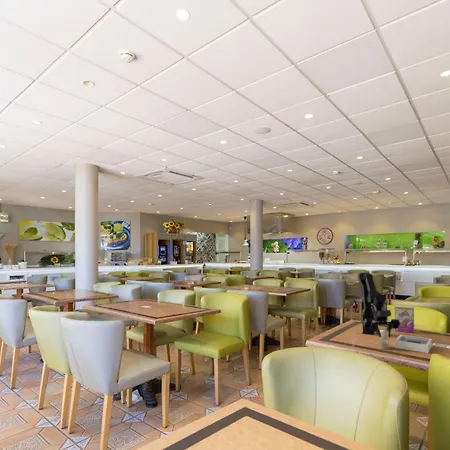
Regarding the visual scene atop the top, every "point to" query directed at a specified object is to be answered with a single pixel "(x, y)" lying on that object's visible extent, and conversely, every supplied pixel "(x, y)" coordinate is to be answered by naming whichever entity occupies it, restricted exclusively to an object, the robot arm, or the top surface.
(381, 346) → the peg
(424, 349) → the bore box
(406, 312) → the candy bar box
